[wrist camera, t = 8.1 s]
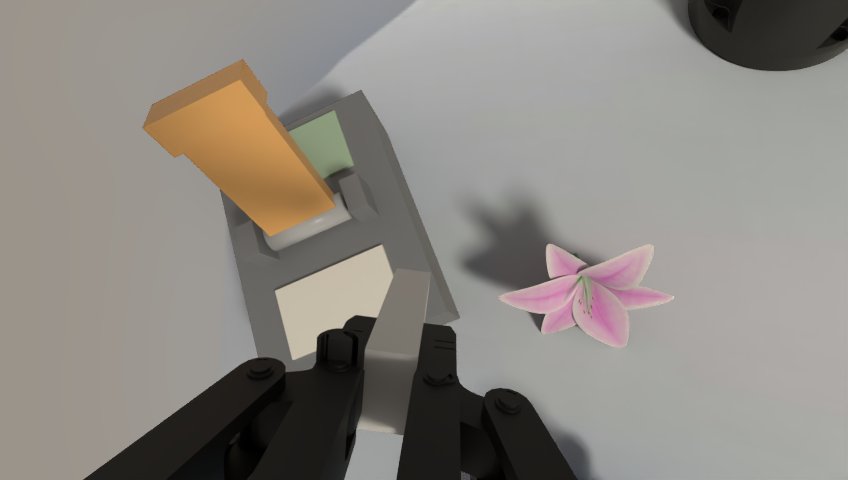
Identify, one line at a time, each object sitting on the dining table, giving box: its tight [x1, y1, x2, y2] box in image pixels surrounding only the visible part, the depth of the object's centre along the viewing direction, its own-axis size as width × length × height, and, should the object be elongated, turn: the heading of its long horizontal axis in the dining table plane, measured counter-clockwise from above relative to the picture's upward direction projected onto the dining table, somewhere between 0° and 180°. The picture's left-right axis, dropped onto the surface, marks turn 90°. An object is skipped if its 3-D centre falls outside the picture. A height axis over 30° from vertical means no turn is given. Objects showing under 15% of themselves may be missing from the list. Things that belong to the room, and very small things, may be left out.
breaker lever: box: [143, 59, 353, 252], centre depth 30 cm, size 3×7×14 cm, turn 110°
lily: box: [498, 244, 674, 348], centre depth 34 cm, size 12×12×10 cm
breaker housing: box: [220, 90, 460, 372], centre depth 38 cm, size 22×16×11 cm
